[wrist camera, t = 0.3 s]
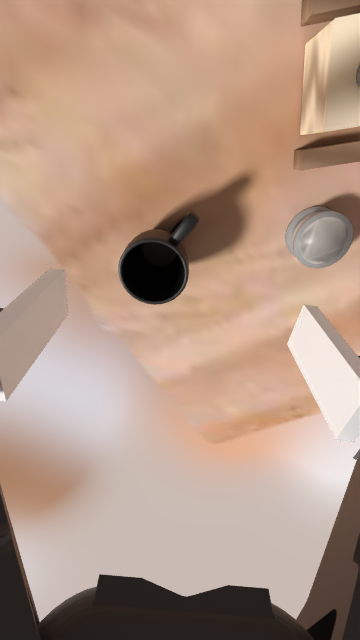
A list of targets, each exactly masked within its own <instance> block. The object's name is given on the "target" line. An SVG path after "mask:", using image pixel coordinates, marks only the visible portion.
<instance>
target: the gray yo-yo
mask: <svg viewBox="0 0 360 640" xmlns="http://www.w3.org/2000/svg"><path fill="white" fill-rule="evenodd" d="M352 240H353V227H352V224H351V222H350V220H349V219H348V218H347V217H346V216H344V215H343V214H341V213H338V212H335V211H332V210H331V209H329V208H326V207H322V206H314V207H310V208H307V209H305V210H303V211H301V212H300V213H299V214H297V215H296V216H295V217H294V218H293V220H292V221H291V222H290V224H289V226H288V228H287V231H286V245H287V247H288V249H289V251H290V252H291V253H292V254H293V255H294V256H296V257H297V259H298V260H299V261H300V262H301V263H302V264H304V265H305V266H307V267H310V268H324V267H327V266H330V265H332V264H334V263H336V262H337V261H338V260H340V259H341V258H342V257H343V256H344V255H345V254H346V252H347V251H348V249H349V248H350V246H351V243H352Z"/></svg>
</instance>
